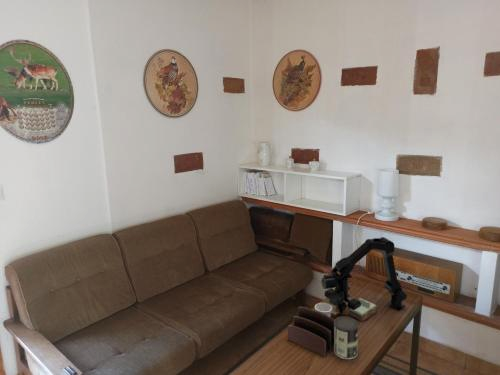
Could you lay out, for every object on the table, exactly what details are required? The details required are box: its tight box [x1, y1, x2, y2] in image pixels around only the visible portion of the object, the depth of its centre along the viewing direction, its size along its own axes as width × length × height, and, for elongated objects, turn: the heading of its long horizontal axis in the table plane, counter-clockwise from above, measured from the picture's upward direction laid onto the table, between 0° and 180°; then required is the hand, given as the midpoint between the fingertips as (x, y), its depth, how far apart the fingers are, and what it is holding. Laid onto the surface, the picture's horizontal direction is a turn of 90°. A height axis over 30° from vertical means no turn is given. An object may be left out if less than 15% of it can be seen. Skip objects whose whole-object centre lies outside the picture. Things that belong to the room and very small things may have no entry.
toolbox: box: [347, 304, 378, 323], centre depth 184 cm, size 12×9×4 cm
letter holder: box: [287, 306, 335, 358], centre depth 162 cm, size 10×20×14 cm, turn 49°
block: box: [324, 299, 341, 316], centre depth 188 cm, size 4×7×5 cm, turn 40°
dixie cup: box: [314, 302, 332, 318], centre depth 175 cm, size 8×8×10 cm
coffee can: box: [333, 316, 360, 360], centre depth 155 cm, size 10×10×14 cm
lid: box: [349, 297, 376, 316], centre depth 184 cm, size 12×8×4 cm, turn 129°
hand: (341, 313), depth 184 cm, fingers closed
